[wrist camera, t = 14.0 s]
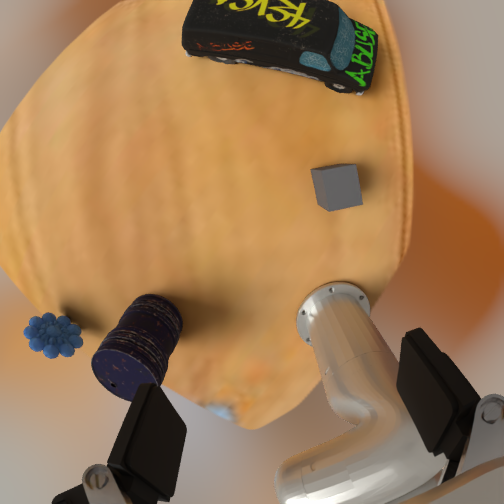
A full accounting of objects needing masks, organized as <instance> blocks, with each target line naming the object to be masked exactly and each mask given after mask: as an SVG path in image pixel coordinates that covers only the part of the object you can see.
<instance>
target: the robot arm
mask: <svg viewBox="0 0 504 504" xmlns="http://www.w3.org/2000/svg"><path fill="white" fill-rule="evenodd" d="M330 288H331V289H330ZM303 310H304V311H303ZM369 317H370V303H369V300H368V298H367V296H366V295H365V294H364V292H363V291H362V290H361V289H360V288H358V287H357V286H355V285H353V284H350V283H346V282H333V283H328V284H325V285H323V286H320V287H319V288H317V289H315V290H314V291H312V292H311V293H310V294H309V295H308V296H307V297H306V298H305V299H304V300H303V302H302V303H301V305H300V307H299V309H298V312H297V317H296V326H297V330H298V333H299V335H300V337H301V338H302V339H303V341H304V342H306V343H307V344H308V345H310V346H312V347H313V349H314V353H315V356H316V360H317V363H318V367H319V370H320V374H321V377H322V381H323V384H324V388H325V391H326V395H327V399H328V402H329V404H330V407H331V408H332V410H333V411H334V412H335V413H336V414H337V415H338V416H339V417H340V418H342V419H343V420H345V421H347V422H349V423H352V424H354V425H357V426H356V427H354V428H353V429H351V430H349V431H347V432H345V433H344V434H342V435H340V436H338V437H336V438H334V439H331V440H329V441H327V442H325V443H322V444H320V445H318V446H316V447H313V448H310V449H308V450H306V451H303V452H301V453H299V454H296V455H294V456H292V457H290V458H289V459H287V460H286V461H284V462H283V463H282V464H281V465H280V467H279V468H278V470H277V472H276V474H275V479H274V486H275V492H276V495H277V498H278V500H279V503H280V504H504V397H503V396H501V395H498V394H490V395H487V396H485V397H484V398H482V399H481V398H480V396H479V395H478V394H477V392H476V391H475V390H474V388H473V387H472V386H471V384H470V383H469V382H468V380H467V379H466V378H465V376H464V375H463V374H462V373H461V371H460V370H459V369H458V367H457V366H456V365H455V364H454V362H453V361H452V360H451V359H450V358H449V356H447V354H445V353H443V352H441V351H440V350H439V348H438V347H437V346H436V345H435V343H434V342H433V341H432V340H431V339H430V338H429V337H428V335H427V334H426V333H425V332H424V331H423V329H422V328H416V329H414V330H411V331H408V332H406V334H405V337H403V338H402V343H401V352H400V361H399V362H398V361H397V359H396V358H395V356H394V354H393V353H392V351H391V349H390V348H389V346H388V345H387V343H386V342H385V340H384V339H383V337H382V336H381V334H380V333H379V331H378V330H377V328H376V326H375V325H374V324H373V322H372V321H371V319H370V318H369ZM186 433H187V428H186V425H185V423H184V422H183V420H182V419H181V417H180V416H179V414H178V413H177V412H176V410H175V409H174V407H173V406H172V404H171V403H170V401H169V400H168V398H167V397H166V395H165V393H164V392H163V390H162V389H161V387H160V386H157V385H156V384H155V383H141V384H140V385H139V387H138V389H137V391H136V394H135V396H134V398H133V400H132V403H131V405H130V407H129V410H128V412H127V414H126V417H125V419H124V421H123V424H122V427H121V429H120V431H119V433H118V436H117V438H116V441H115V443H114V446H113V448H112V451H111V453H110V456H109V458H108V461H107V463H108V464H107V466H105V465H102V464H95V465H92V466H90V467H88V468H87V469H86V471H85V472H84V474H83V477H82V484H80V485H78V486H76V487H74V488H72V489H70V490H67V491H65V492H63V493H61V494H58V495H57V496H55V498H54V499H53V501H52V504H157V501H164V502H169V501H170V497H172V496H173V495H174V492H175V487H176V481H177V477H178V472H179V467H180V462H181V456H182V452H183V447H184V442H185V437H186ZM444 465H445V467H444ZM443 467H444V469H442V468H443Z"/></svg>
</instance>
